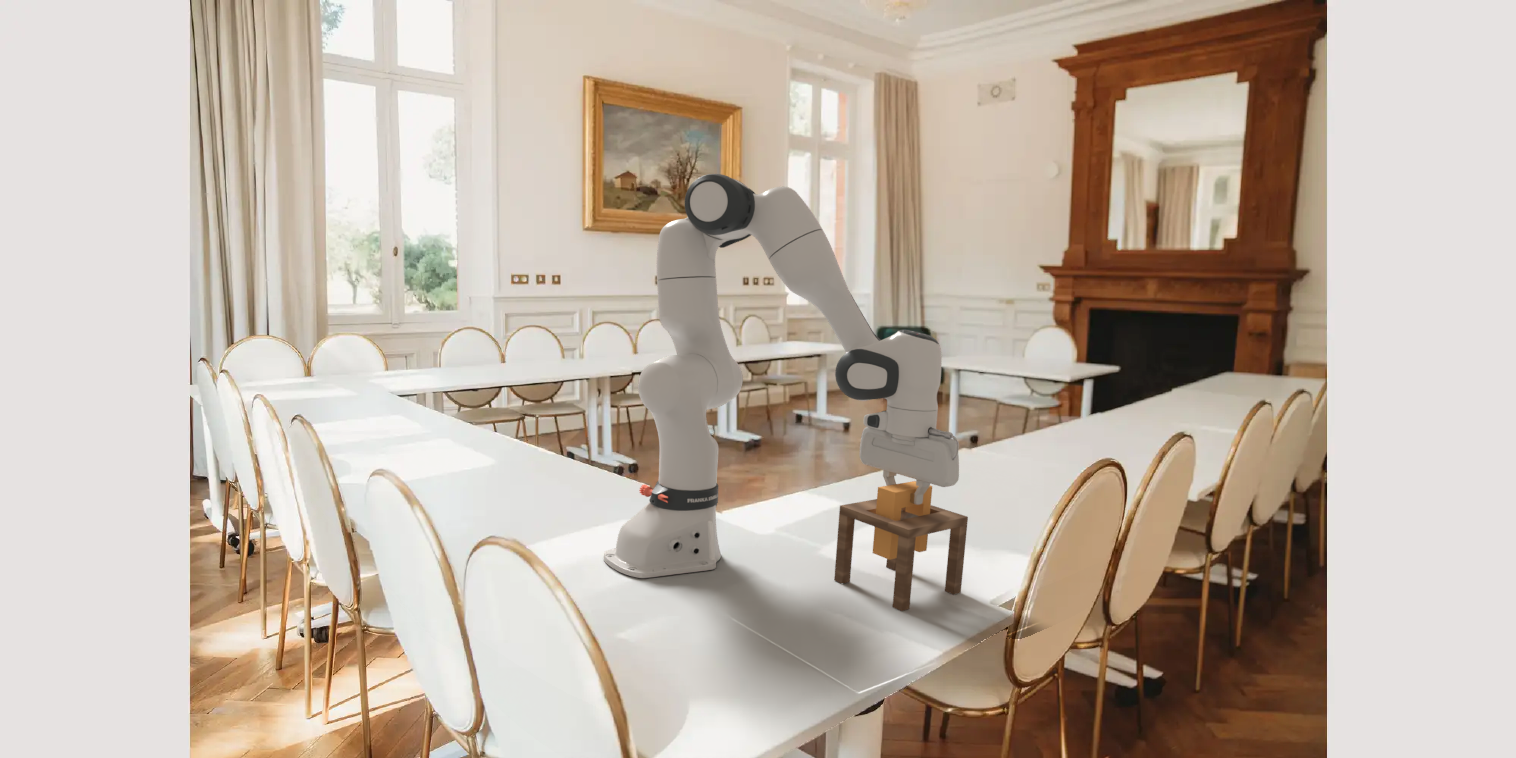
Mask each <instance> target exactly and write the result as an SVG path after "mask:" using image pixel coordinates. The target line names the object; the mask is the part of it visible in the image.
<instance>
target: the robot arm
mask: <svg viewBox="0 0 1516 758" xmlns="http://www.w3.org/2000/svg"><path fill="white" fill-rule="evenodd" d="M684 211H685V214H686V217H685V218H681V219H680V218H679V219H676V220H675V219H674V220H672V221H670V222H668V223H667V224H665V225H664V226H663V227H662V228H661V230H660V232H659V235H658V243H657V249H656V250H657V251H656V284H657V287H656V288H657V302H658V303H657V304H658V315H659V316H658V318H659V322H660V324H661V326H662V328H663V329H664V330H665V331H666V332H667V333H668V335H669V336H670V338H671V340H672V342H673V344H674V348H675V351H676V354H675V355H668V356H667V355H666V356H664V357H661V358H660V359H657V360H655V361H653V362H651V363H649V364H648V365H646V366H645V367H644V368H643V370H642V371H641V372H640V375H639V377H638V384H637V391H638V396H639V399H640V401H641V403H642V404H643V405H644V407H645V408H646V409H647V410H648V411H649V412H650V413H651V416H652V417H653V420H654V423H655V426H656V430H657V435H658V443H659V457H658V458H659V460H658V463H659V464H658V481H657V482H656V483H655V485H654V488H653V487H652V486H649V485H648V484H642V485H640V487H639V494H640V495H641V496H644V497H646V498H648V497H649V500H648V501H649V502H648V503H647V504H646V505H645V506H644V507H642V508H641V509H640V510H639V511H638V512H636V513H635V515H633V516H632V517H631V518H630V519H629V520H627V521H625V522H624V524H622V526H621V527H620V528H619V530H618V531H619V532H618V534H617V540H616V544H615V548H611V549H608V550H605V551H604V553H603V561H604V562H605V563H606V564H607V565H608V566H609V567H610V568H612V569H613V570H616V571H617V572H619V573H621V574H624V575H627V576H629V577H632V578H639V579H647V578H656V577H664V576H665V577H666V576H672V575H679V574H687V573H688V574H689V573H696V572H703V571H711V570H715V569H716V568H717V562H718V561H719V560H720V559H721V557H722V554H721V550H720V549H721V548H720V544H719V539H718V532H717V512H716V511H717V506H718V503H719V484H718V483H717V479H718V466H719V465H718V463H719V461H718V460H719V444H718V442H717V440H716V439H715V438H714V437H713V436H712V434H711V432H710V429H709V425H708V421H707V412H708V411H707V410H713V409H715V408H716V409H717V408H720V407H722V406H724V405H726V404H728V403H729V402H731V401H732V400H733V399H735V398H736V397H737V396H738V394H739V393H740V392H741V390H742V386H743V380H744V379H743V378H744V377H743V371H742V369H741V366H740V365H739V363H738V361H736V359H734V357H733V356H732V354H731V352H730V350H729V347H728V344H727V342H726V339H725V336H724V332H723V329H722V325H721V320H720V312H719V302H718V287H717V285H718V284H717V272H716V271H717V270H716V255H717V251H718V249H719V248H726V247H728V246H731V245H733V244H736V243H739V242H742V241H743V240H745V239H748V238H750V237H751V236H752V237H754V238H755V239H756V240H757V241H758V243H759V245H760V246H761V248H762V249H763V251H764V254H765V255H766V257H767V259H768V261H769V262H770V265H771V266H772V268H773V270H774V272H775V274H776V275H777V276H778V277H779V278H780V280H781V281H782V283H783V284H784V285H785V286H786V287H787V289H788V290H789V291H791V293H793V294H795V295H798V296H799V297H800V298H802V299H803V300H806V301H808V302H809V303H810V304H812V305H814V306H815V307H816V308H817V309H818V310H819V311H820V312H821V314H822V315H823V316H824V317H825V319H826V320H827V322H828V324H829V325H830V328H831V329H832V331H833V333H834V335H835V336H836V337H837V340H838V341H839V342H840V344H841V346H842V348H843V351H844V352H845V353H844V354H843V355H842V356H841V357H840V358H839V360H838V362H837V363H836V367H835V372H834V375H835V381H836V384H837V387H838V388H839V390H840V391H841V392H842V393H843V394H844V395H845V396H846V397H848V398H851V399H853V400H856V401H860V402H867V401H872V400H880V399H885V400H886V410H882V411H879V412H872V413H868V414H865V415H864V416H863V425H864V428H863V430H862V433H861V437H860V442H859V443H860V445H859V459H860V461H861V463H862V464H863V465H867V466H870V467H872V468H876V469H879V470H883V472H882V477H883V479H884V482H885V484H886V485H885V486H888V485H894V484H897V482H896V478H895V477H896V476H897V475H900V476H903V477H908V478H911V479H912V480H913V479H914V480H915V481H916V485H917V486H918V488H917V490H916V492H915V493H911V494H910V498H911V499H910V502H911V503H913V504H916V505H919V504H922V502H923V494H924V493H925V492H926V491H927V489H928V488H929V486H931V485H934V486H938V487H941V488H948V487H952V486H955V485H956V484H957V483H958V481H959V479H960V478H959V477H960V458H959V451H960V450H959V447H960V443H959V440H958V439H957V438H956V437H955V435H954V434H953V433H952V432H951V431H945V430H944V431H943V430H941V429H939V428H937V423H938V411H939V406H938V405H939V404H938V391H939V388H940V386H941V379H942V378H941V377H942V349H941V344H940V343H939V342H938V340H937V339H935V338H936V337H933V336H932V335H929V334H927V333H923V332H920V331H916V330H910V329H900V330H897V332H895V333H893V334H892V335H890V336H888V337H885V338H883V339H881V338H879V337H878V336H877V334H875V332H874V331H873V329H872V328H871V326H870V324H869V323H868V322H867V319H866V317H865V316H864V314H863V313H862V310H861V309H860V307H859V306H858V303H857V302H856V301H855V299H854V297H853V295H852V294H851V292H850V290H849V287H848V286H847V282H846V281H845V277H844V275H843V273H842V271H841V268H840V265H839V262H838V259H837V257H836V255H835V252H834V250H833V248H832V246H831V243H830V241H829V239H828V237H827V235H826V234H825V231H824V230H823V228H822V226H821V223H819V221H818V219H817V218H816V217H815V214H814V213H813V212H812V210H811V209H810V207H809V206H808V205H807V203H806V201H805V200H804V199H803V198H802V197H801V196H800V195H799V193H798V192H797V191H796V190H794V189H793V188H791V187H788V186H775V187H771V188H769V189H767V190H766V191H764V192H761V193H759V194H756V193H755V192H754V191H753V189H751V188H749V187H748V186H747V185H746V184H744V183H743V182H741V181H740V180H738V179H735V178H732V177H730V176H727V175H725V174H723V173H708V174H705V175H701V176H699V177H698V178H695V180H694V181H693V182H692V183H691V184H690V185H689V187H688V189H687V191H686V192H685V197H684Z"/></svg>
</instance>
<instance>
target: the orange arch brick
mask: <svg viewBox="0 0 1516 758" xmlns="http://www.w3.org/2000/svg"><path fill="white" fill-rule="evenodd" d="M917 488H918V486H917V485H916V480H914V481H907V482H902V483H896V484H894V485H888V486H887V485H883V486H882V485H881V486H878V487H877V496H876V499H877V505H876V514H877V515H880V516H883V517H886V518H889V519H892V520H894V521H898V520H901V508H904V507H906V510H905V511H906V512H909V513H912V514H915V515H918V516H922V515H927V514H930V507H931V505H932V504H931V503H932V496H933V495H932V494H933V486H932V485H930V486H929V488H928V489H927V491H926V492H925V493H924V494H923V502H922V504H919V505H916V504H913V503H911V502H910V499H911V498H910V494H911V493H915V492H916V490H917ZM898 537H899V535H896V534H893V533H891V532H888V531H885V530H883V529H880V528H877V527H874V532H873V543H872V544H873V545H872V554H874V555H877V556H879V557H881V558H884V559H886V560H887V559H889V560H891V559H895V558H897V548H898ZM928 537H929V534H926V535H922V536H918V537H916V540H915V551H914V552H917V553H922V552H927V550H928V539H929V538H928Z"/></svg>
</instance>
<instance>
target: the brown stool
mask: <svg viewBox="0 0 1516 758" xmlns="http://www.w3.org/2000/svg"><path fill="white" fill-rule="evenodd" d="M876 505H877V498H875V499H869V500H864V501H858V502H853V503H847V504H842V505H839V511H838V512H839V515H838V527H837V537H836V538H837V541H836V553H835V564H834V565H835V566H834V577H833V578H834V580H836V581H837V582H836V581H835V582H836V583H839V584H841V583H844V584H847V583H848V584H849V583H850V582H851V571H852V558H853V546H854V531H855V521H858V522H861V523H864V524H866V525H869V526H872V527H874V528H875V527H877V528H880V529H883V530H885V531H888V532H891V533H893V534H896V535H899V537H898V548H897V558H895V559H891V560H889V559H886V566H885V567H886V568H888V569H889V570H893V571H895V573H894V575H895V576H894V585H893V597H892V598H893V599H892V608H893V609H895V610H898V611H900V612H903V611H907V610H909V609H910V606H911V594H912V584H913V573H914V559H915V552H916V551H915V540H916V537H918V536H922V535H926V534H928V535H930V534H935V533H938V532H943V531H947V530H950V533H949V542H948V551H947V564H946V573H945V585H944V586H945V587H944V592H946V593H949V594H950V595H953V596H954V595H957V594H961V593H962V583H963V575H964V574H963V573H964V561H965V551H966V543H967V542H966V541H967V531H968V523H969V522H968V521H969V517H968V515H963V514H961V513H957V512H954V511H950V510H947V509H945V508H942V507H939V506H935V505H932V504H931V507H930V514H927V515H922V516H918V515H915V514H912V513H909V512H906V511H905V510H906V507H904V508H901V520H898V521H894V520H892V519H889V518H886V517H883V516H880V515H877V514H876Z"/></svg>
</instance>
